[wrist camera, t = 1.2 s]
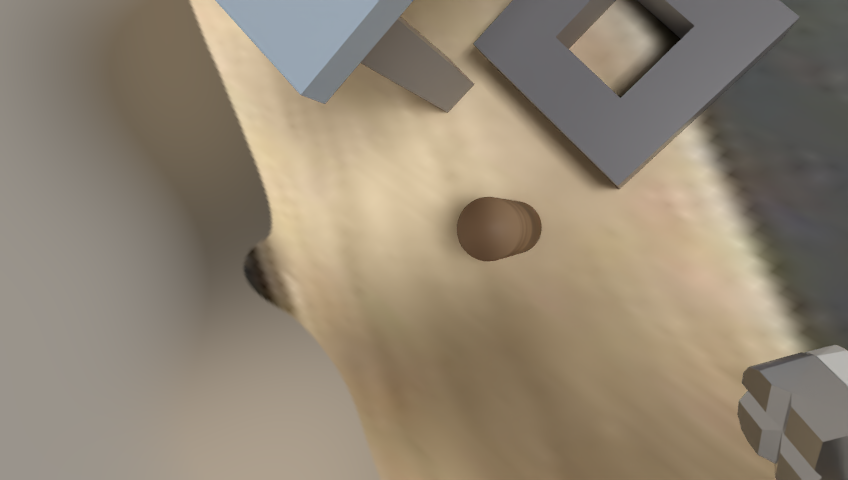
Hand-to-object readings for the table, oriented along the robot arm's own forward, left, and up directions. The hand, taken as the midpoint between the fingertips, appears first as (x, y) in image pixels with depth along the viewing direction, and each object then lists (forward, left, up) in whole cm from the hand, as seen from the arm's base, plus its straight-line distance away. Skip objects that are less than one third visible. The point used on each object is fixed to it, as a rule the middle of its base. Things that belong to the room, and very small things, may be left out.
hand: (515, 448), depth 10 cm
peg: (+6, -5, -35) cm, 36 cm away
